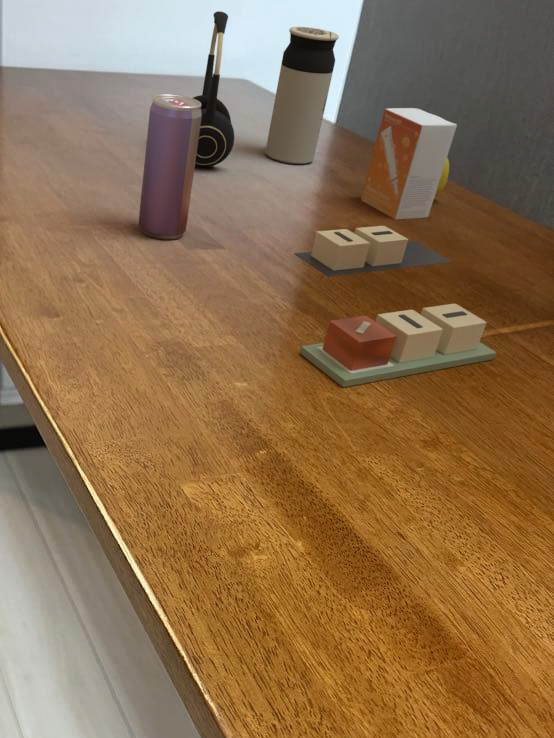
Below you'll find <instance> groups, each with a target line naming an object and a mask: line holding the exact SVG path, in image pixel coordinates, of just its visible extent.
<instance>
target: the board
mask: <svg viewBox="0 0 554 738" xmlns="http://www.w3.org/2000/svg"><path fill="white" fill-rule="evenodd" d="M293 255H294V256H296V257H298V258H299V259H300V260H302V261H304V263H307V264H308V265H309V266H311V267H313V268H314V269H316V270H317V271H319V272H320V273H322V274H324V275H325V276H326V277H329V278H330V277H338V276H347V275H355V274H363V273H371V272H372V273H373V272H381V271H382V272H383V271H389V270H397V269H399V270H400V269H406V268H415V267H424V266H433V265H440V264H441V265H442V264H450V263H454V261H452V260H451V259H449V258H448V257H445V256H444V255H442V254H440V253H438V252H437V251H434V250H433V249H431V248H429V247H428V246H426V245H424V244H422V243H421V242H418V241H409V238H407V237H405V236H404V235H402V234H400V233H398V232H396V231H395V230H393V229H391V228H389V227H387V226H386V225H377V226H376V225H375V226H366V227H365V226H363V227H355V229H354V231H351V230H350V229H347V228H340V229H330V230H318V231H316V232H315V236H314V240H313V245H312V248H311V251H306V252H305V251H304V252H296V253H293Z"/></svg>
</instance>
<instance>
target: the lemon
mask: <svg viewBox="0 0 554 738" xmlns="http://www.w3.org/2000/svg"><path fill="white" fill-rule="evenodd" d="M449 173H450V161H449V158H448V157H447V159H446V162H445V165H444V168H443V171H442V174H441V178H440V181H439V184H438V187H437V190H436V194H435V197H434V199H435V198H436V197H438V196H439V195H440V194H441V193H442V192H443V190H444V189H445V186H446V185H447V182H448V178H449Z"/></svg>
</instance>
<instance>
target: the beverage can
mask: <svg viewBox="0 0 554 738" xmlns="http://www.w3.org/2000/svg"><path fill="white" fill-rule="evenodd" d="M148 116H149V117H148V123H147V124H148V125H147V132H146V133H147V135H146V145H145V153H144V163H143V165H144V166H143V172H142V173H143V174H142V184H141V194H140V202H139V213H138V223H137V224H138V227H139V229H140V231H141V233H143V235H145V236H148V237H150V238H152V239H158V240H167V241H170V240H176V239H177V240H178V239H179V238H181V237H182V236H183V235H184V234H185V233H186V231H187V225H188V217H189V212H190V211H189V210H190V203H191V197H192V189H193V182H194V181H193V180H194V173H195V168H196V166H195V160H196V153H197V146H198V139H199V131H200V124H201V117H202V114H201V103H200V102H199V101H198V100H196V99H193V97H190V96H184V95H180V94H170V93H169V94H167V93H166V94H156V95H154V96H152V102H151V105H150V107H149V115H148Z"/></svg>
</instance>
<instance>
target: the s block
mask: <svg viewBox="0 0 554 738" xmlns="http://www.w3.org/2000/svg"><path fill="white" fill-rule="evenodd" d="M395 340H396V335H394V334H393V333H391V332H390V331H388V330H387V329H385V328H384V327H382V326H381V325H380V324H378V323H377V322H376V320H374V319H372V318H370V316H368V315H360V316H353V317H346V318H339V319H333V320H332V319H331V320H330V321H329V322H328V325H327V330H326V333H325V337H324V341H323V343H324V345H323V349H324V350H325V351H326V352H327V353H329V354H330V355H331V356H333V357H334V358H335V359H337V360H338V361H339V362H341V363H342V364H343V365H345V366H346V367H347V368H348V369H350V370H357V369H363V368H369V367H374V366H380V365H385V364H388V362H389V359H390V355H391V352H392V349H393V346H394V343H395Z"/></svg>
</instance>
